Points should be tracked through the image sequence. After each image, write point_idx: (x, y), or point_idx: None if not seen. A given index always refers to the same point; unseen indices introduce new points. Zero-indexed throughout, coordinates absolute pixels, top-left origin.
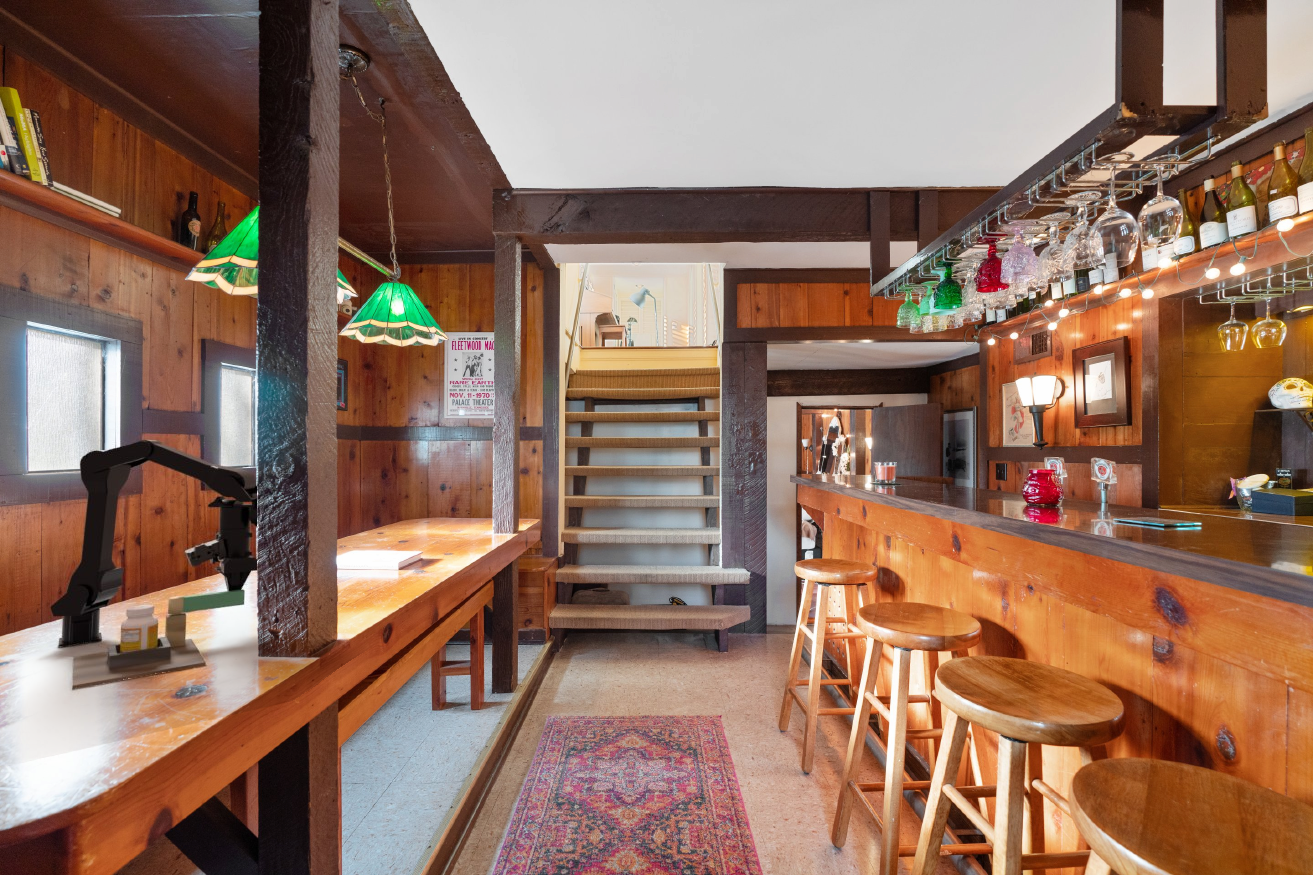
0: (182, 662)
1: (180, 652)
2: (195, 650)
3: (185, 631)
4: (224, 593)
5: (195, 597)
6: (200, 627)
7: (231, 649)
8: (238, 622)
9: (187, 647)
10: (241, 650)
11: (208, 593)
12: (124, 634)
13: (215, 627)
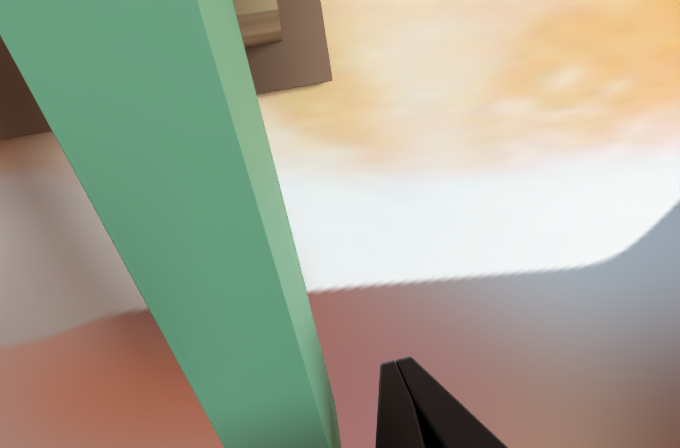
0: None
1: (2, 39)
2: (33, 118)
3: None
4: (232, 445)
5: (85, 159)
6: (598, 103)
7: (84, 258)
8: (563, 242)
9: None
10: (52, 293)
11: (280, 315)
12: None
13: (546, 166)
